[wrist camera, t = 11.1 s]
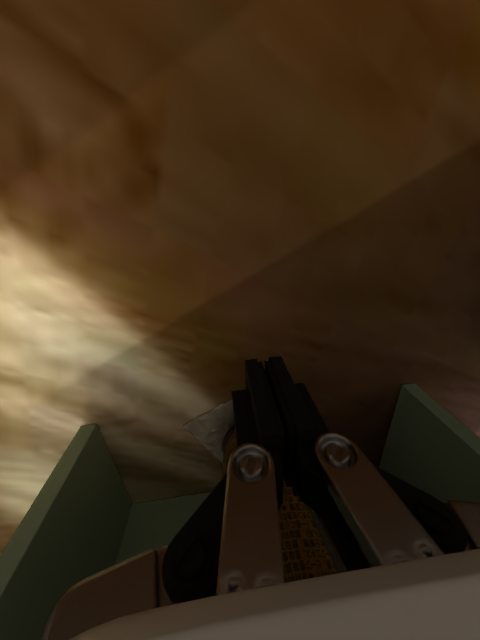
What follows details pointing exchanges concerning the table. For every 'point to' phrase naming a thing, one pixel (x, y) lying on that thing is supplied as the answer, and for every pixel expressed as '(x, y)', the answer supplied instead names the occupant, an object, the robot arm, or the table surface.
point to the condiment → (294, 516)
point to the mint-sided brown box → (183, 508)
